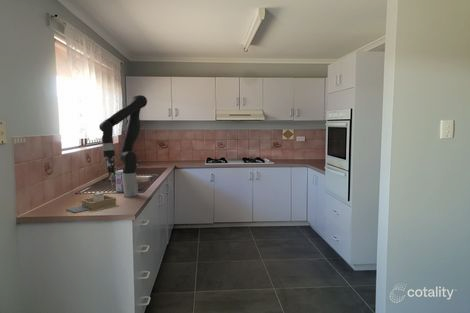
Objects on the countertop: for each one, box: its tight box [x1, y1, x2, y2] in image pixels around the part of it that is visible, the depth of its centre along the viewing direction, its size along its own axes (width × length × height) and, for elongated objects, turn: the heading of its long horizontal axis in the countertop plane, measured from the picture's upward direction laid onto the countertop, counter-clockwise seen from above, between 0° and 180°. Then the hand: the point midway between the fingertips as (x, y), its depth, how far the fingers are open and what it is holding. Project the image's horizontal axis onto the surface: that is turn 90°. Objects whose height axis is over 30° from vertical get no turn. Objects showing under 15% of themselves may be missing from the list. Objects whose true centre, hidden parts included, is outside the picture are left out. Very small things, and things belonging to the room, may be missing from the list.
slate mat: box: [66, 205, 90, 214], centre depth 208 cm, size 9×12×1 cm
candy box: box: [114, 169, 124, 193], centre depth 266 cm, size 14×6×16 cm, turn 164°
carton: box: [79, 194, 120, 212], centre depth 219 cm, size 17×22×4 cm
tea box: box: [92, 192, 104, 202], centre depth 219 cm, size 5×5×8 cm
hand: (111, 172), depth 233 cm, fingers open, 8 cm apart
